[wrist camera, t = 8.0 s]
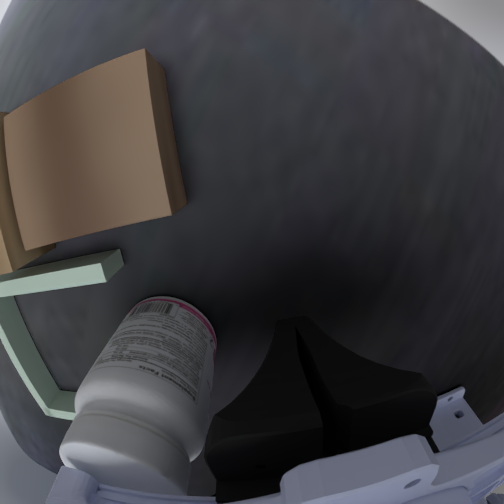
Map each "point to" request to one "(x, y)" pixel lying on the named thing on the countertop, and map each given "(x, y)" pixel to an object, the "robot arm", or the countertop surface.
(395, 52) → the countertop surface
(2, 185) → the block
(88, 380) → the pill bottle
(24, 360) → the corral
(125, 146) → the tan cardboard block
